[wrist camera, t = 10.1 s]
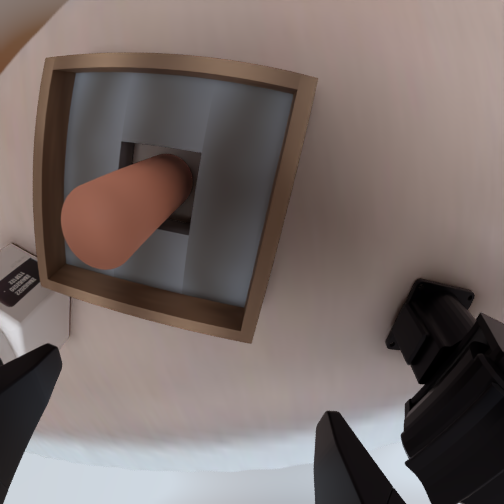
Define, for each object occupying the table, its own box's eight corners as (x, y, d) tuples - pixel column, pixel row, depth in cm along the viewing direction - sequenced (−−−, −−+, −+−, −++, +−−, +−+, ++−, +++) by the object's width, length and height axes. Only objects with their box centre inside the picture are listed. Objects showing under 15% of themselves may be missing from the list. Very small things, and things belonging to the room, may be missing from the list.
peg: (196, 158, 19) (140, 190, 10) (188, 212, 20) (134, 278, 12) (144, 150, 18) (61, 177, 10) (138, 202, 20) (62, 258, 12)
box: (307, 88, 16) (318, 78, 12) (255, 303, 22) (251, 343, 18) (84, 64, 16) (45, 57, 12) (72, 259, 22) (40, 286, 18)
